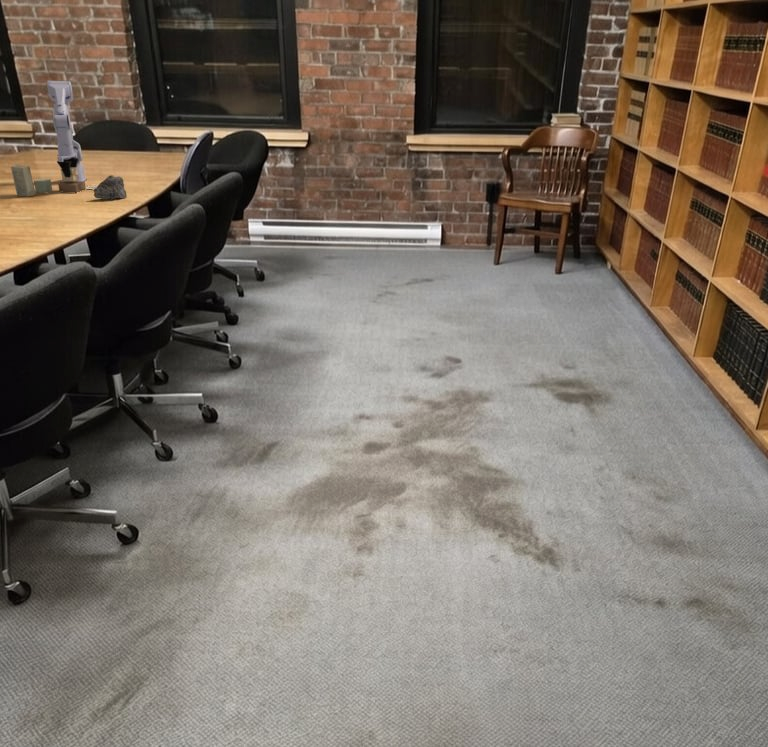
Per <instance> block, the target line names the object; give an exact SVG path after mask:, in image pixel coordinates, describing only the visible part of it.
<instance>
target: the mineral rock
mask: <svg viewBox="0 0 768 747" xmlns="http://www.w3.org/2000/svg"><path fill="white" fill-rule="evenodd" d="M97 185H98V186H97V188H95V189H94V190H92V191H93V193H94V194H93V197H95V198H96V199H100V200H109V199H110V200H114V199H126V198H127V191H126V189H125V183H124V179H123V177H122V176H114V175H112V174H110V175H108V176H107V177H106V178H105V179H104V180H102V181H101V182H100V183H99V184H97ZM125 197H126V198H125Z"/></svg>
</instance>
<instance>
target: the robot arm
mask: <svg viewBox="0 0 768 747" xmlns="http://www.w3.org/2000/svg"><path fill="white" fill-rule="evenodd" d="M46 86H47V87H46V88H47V92H48V95H49V98H50V99H51V101H52V102H54V104H53V116H52V122H53V123H52V124H53V127H54V130H55V134H56V139H57V153H58V154H57V158H56V159H57V161H56V162H57V164H58V165H59V167H60V170H61V169H62V171H63V173H64V176H65V177H70V175H71V173H70V167H75V168H77V171H78V177H79V179H78V180H75V181H85V182H86V181H87V180H86V179H87V178H86V172H85V167H84V164H83V163H82V161H83V154H82V148H81V145H80V143H79V142H77V141H76V140H74V137H73V129H72V124H71V123H72V122H71V117H70V116H71V114H70V110H69V108H70V103H72V102H74V95H73V87H72V83H71V81H70V80H68V81H67V80H66V81H63V80H62V81H61V80H47V81H46ZM62 182H64V181H63V180H62Z"/></svg>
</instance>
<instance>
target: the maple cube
mask: <svg viewBox="0 0 768 747" xmlns="http://www.w3.org/2000/svg"><path fill="white" fill-rule="evenodd" d="M60 172H61V173H60V174H61V179H62V182H63V181H75V180H78V179H79V177H78V171H77V168H75V167H70V173H71V175H70V177H65V176H64V173H63V171H62V169H61V168H60Z"/></svg>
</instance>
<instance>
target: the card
mask: <svg viewBox="0 0 768 747" xmlns="http://www.w3.org/2000/svg"><path fill="white" fill-rule="evenodd" d="M94 185H95V184H92V186H89V185H87V186H88V187H87V186H85V187H86V190H87V189H92V188H94V189H95V188H97V186H94Z"/></svg>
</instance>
